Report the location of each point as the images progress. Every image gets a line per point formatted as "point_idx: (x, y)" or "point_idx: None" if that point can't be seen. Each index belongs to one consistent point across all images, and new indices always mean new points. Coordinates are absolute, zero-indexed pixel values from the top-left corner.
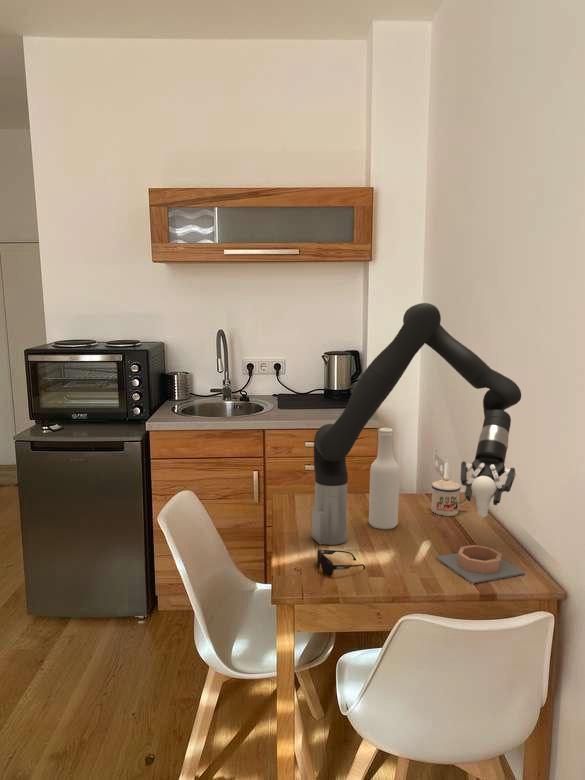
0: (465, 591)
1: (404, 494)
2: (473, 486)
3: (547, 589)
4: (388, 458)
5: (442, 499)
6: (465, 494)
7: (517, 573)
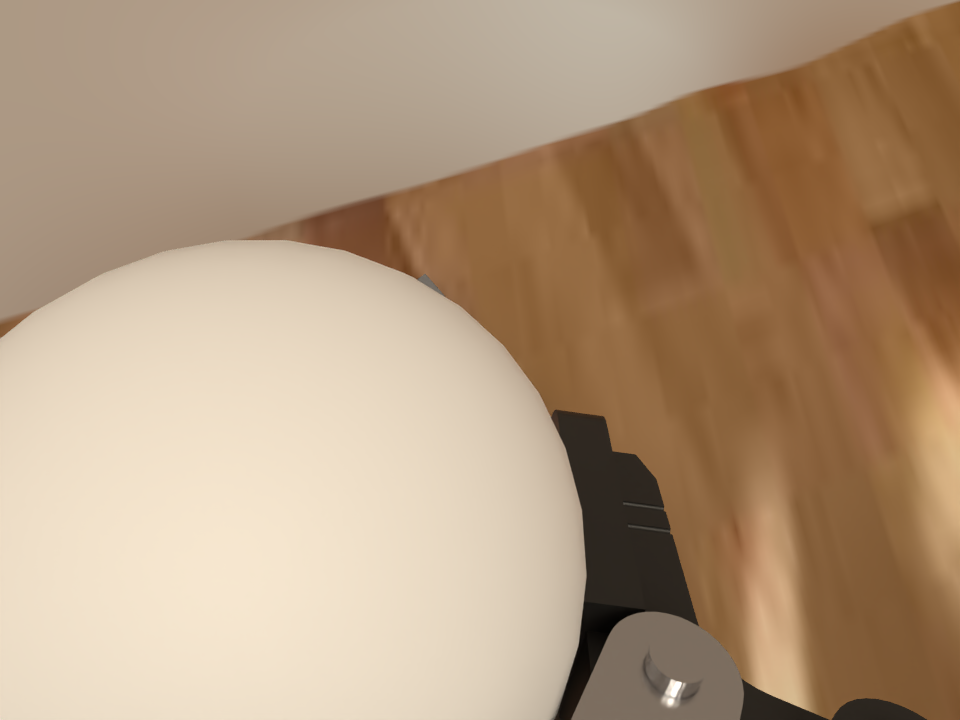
0: (454, 194)
1: None
2: (524, 374)
3: None
4: None
5: None
6: (641, 473)
7: None
